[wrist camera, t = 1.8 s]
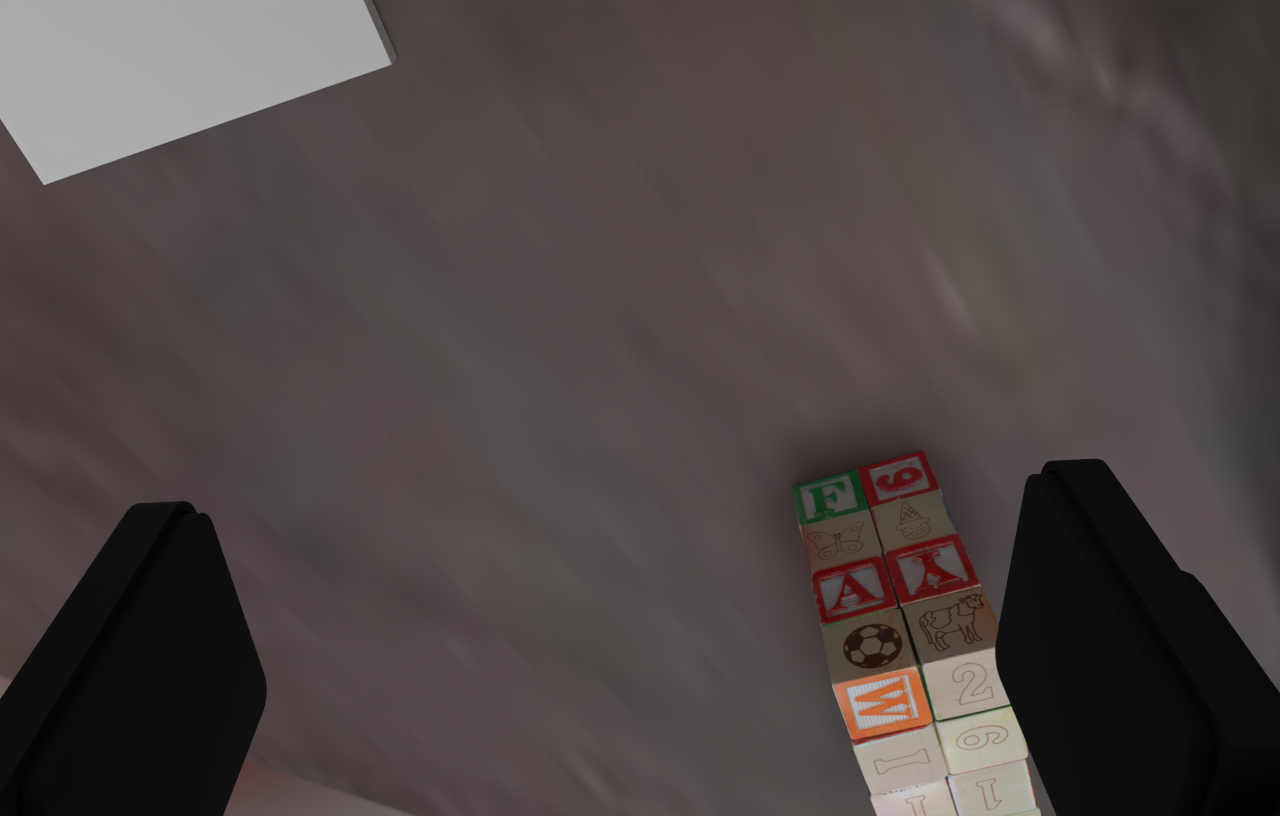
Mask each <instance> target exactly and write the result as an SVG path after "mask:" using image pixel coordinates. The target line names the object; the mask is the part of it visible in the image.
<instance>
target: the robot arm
mask: <svg viewBox="0 0 1280 816" xmlns="http://www.w3.org/2000/svg"><path fill="white" fill-rule="evenodd" d="M995 660H996V667H997V671H998V675H999V678H1000V680H1001V683H1002V685H1003V688H1004V690H1005V693H1006V695H1007V697H1008V700H1009V702H1010V705H1011V707H1012V709H1013V712H1014V714H1015V717H1016V719H1017V721H1018V724H1019V726H1020V729H1021V731H1022V733H1023V736H1024V738H1025V741H1026V743H1027V745H1028V748H1029V750H1030V753H1031V755H1032V758H1033V760H1034V762H1035V765H1036V767H1037V770H1038V772H1039V774H1040V777H1041V779H1042V782H1043V784H1044V786H1045V789H1046V791H1047V794H1048V796H1049V798H1050V801H1051V803H1052V806H1053V808H1054V810H1055V813H1056V815H1057V816H1280V693H1279V691H1278V690H1277V688H1276V687H1275V686H1274V684H1273V683H1272V681H1271V680H1270V679H1269V677H1268V676H1267V674H1266V673H1265V672H1264V670H1263V669H1262V667H1261V666H1260V665H1259V663H1258V662H1257V660H1256V659H1255V658H1254V656H1253V655H1252V653H1251V652H1250V651H1249V649H1248V648H1247V646H1246V645H1245V644H1244V642H1243V641H1242V639H1241V638H1240V637H1239V635H1238V634H1237V632H1236V631H1235V630H1234V628H1233V627H1232V625H1231V624H1230V623H1229V621H1228V620H1227V618H1226V617H1225V616H1224V614H1223V613H1222V611H1221V610H1220V609H1219V607H1218V606H1217V604H1216V603H1215V602H1214V600H1213V599H1212V597H1211V596H1210V595H1209V593H1208V592H1207V590H1206V589H1205V588H1204V586H1203V585H1202V584H1201V583H1200V582H1199V581H1198V580H1197V579H1196V578H1195V576H1194V575H1192V574H1190V573H1187V572H1185V571H1181V570H1180V568H1179V567H1178V565H1177V564H1176V562H1175V561H1174V560H1173V558H1172V557H1171V555H1170V554H1169V552H1168V551H1167V550H1166V548H1165V547H1164V545H1163V544H1162V542H1161V541H1160V540H1159V538H1158V537H1157V535H1156V534H1155V532H1154V531H1153V530H1152V528H1151V527H1150V525H1149V524H1148V522H1147V521H1146V520H1145V518H1144V517H1143V515H1142V514H1141V512H1140V511H1139V510H1138V508H1137V507H1136V505H1135V504H1134V502H1133V501H1132V500H1131V498H1130V497H1129V495H1128V494H1127V492H1126V491H1125V490H1124V488H1123V487H1122V485H1121V484H1120V482H1119V481H1118V480H1117V478H1116V477H1115V475H1114V474H1113V472H1112V471H1111V470H1110V468H1109V467H1108V465H1107V464H1106V463H1105V462H1104V461H1103V460H1100V459H1079V460H1057V461H1049V462H1047V463H1046V464H1045V465H1044V467H1043V468H1042V471H1041V474H1032V475H1030V476H1029V477H1028V479H1027V481H1026V485H1025V489H1024V495H1023V500H1022V505H1021V511H1020V516H1019V521H1018V527H1017V532H1016V537H1015V543H1014V548H1013V553H1012V559H1011V564H1010V569H1009V575H1008V580H1007V585H1006V591H1005V596H1004V601H1003V606H1002V612H1001V617H1000V622H999V628H998V633H997V638H996V644H995ZM266 693H267V687H266V679H265V675H264V672H263V669H262V666H261V663H260V660H259V657H258V655H257V652H256V649H255V646H254V643H253V640H252V637H251V634H250V631H249V628H248V625H247V622H246V619H245V616H244V613H243V611H242V608H241V605H240V602H239V599H238V596H237V593H236V590H235V587H234V584H233V581H232V578H231V575H230V572H229V569H228V567H227V564H226V561H225V558H224V555H223V552H222V549H221V546H220V543H219V540H218V537H217V534H216V531H215V528H214V526H213V523H212V521H211V519H210V517H209V516H208V515H207V514H205V513H197V512H196V510H195V508H194V507H193V506H192V505H191V504H190V503H189V502H186V501H177V502H155V503H138V504H135V505H132V506H131V508H130V509H129V510H128V511H127V512H126V514H125V515H124V516H123V518H122V519H121V521H120V522H119V524H118V525H117V527H116V528H115V530H114V531H113V533H112V534H111V536H110V537H109V539H108V540H107V542H106V543H105V545H104V546H103V548H102V549H101V551H100V552H99V554H98V555H97V557H96V558H95V559H94V561H93V562H92V564H91V565H90V567H89V568H88V570H87V571H86V573H85V574H84V576H83V577H82V579H81V580H80V582H79V583H78V585H77V586H76V588H75V589H74V591H73V592H72V594H71V595H70V597H69V598H68V599H67V601H66V602H65V604H64V605H63V607H62V608H61V610H60V611H59V613H58V614H57V616H56V617H55V619H54V620H53V622H52V623H51V625H50V626H49V628H48V629H47V631H46V632H45V634H44V635H43V637H42V638H41V639H40V641H39V642H38V644H37V645H36V647H35V648H34V650H33V651H32V653H31V654H30V656H29V657H28V659H27V660H26V662H25V663H24V665H23V666H22V668H21V669H20V671H19V672H18V674H17V675H16V677H15V678H14V680H13V681H12V682H11V684H10V685H9V687H8V689H7V690H6V691H5V693H4V694H3V696H2V697H1V699H0V816H223V814H224V812H225V809H226V806H227V804H228V801H229V798H230V796H231V794H232V791H233V788H234V786H235V783H236V781H237V778H238V775H239V773H240V770H241V768H242V765H243V762H244V760H245V757H246V755H247V752H248V749H249V747H250V744H251V742H252V739H253V736H254V734H255V731H256V729H257V726H258V723H259V721H260V718H261V716H262V713H263V710H264V707H265V702H266Z"/></svg>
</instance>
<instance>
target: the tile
mask: <svg viewBox="0 0 1280 816" xmlns="http://www.w3.org/2000/svg"><path fill="white" fill-rule="evenodd" d="M396 59H397V56H396V53H395V51H394V49H393V47H392V44H391V42H390V40H389V37H388V35H387V33H386V30H385V28H384V26H383V24H382V21H381V19H380V17H379V14H378V12H377V10H376V7H375V5H374V3H373V1H372V0H0V119H1V120H2V122H3V123H4V125H5V126H6V128H7V129H8V131H9V132H10V134H11V135H12V137H13V139H14V140H15V142H16V143H17V145H18V146H19V148H20V149H21V151H22V152H23V154H24V155H25V157H26V158H27V160H28V161H29V163H30V164H31V166H32V168H33V169H34V171H35V172H36V174H37V175H38V177H39V178H40V180H41V181H42V183H43V184H44V185H45V184H48V183H51V182H54V181H57V180H59V179H62V178H65V177H68V176H71V175H74V174H77V173H80V172H83V171H85V170H88V169H91V168H94V167H97V166H100V165H103V164H106V163H109V162H111V161H114V160H117V159H120V158H123V157H126V156H129V155H132V154H135V153H137V152H140V151H143V150H146V149H149V148H152V147H155V146H158V145H161V144H163V143H166V142H169V141H172V140H175V139H178V138H181V137H184V136H187V135H189V134H192V133H195V132H198V131H201V130H204V129H207V128H210V127H213V126H215V125H218V124H221V123H224V122H227V121H230V120H233V119H236V118H239V117H241V116H244V115H247V114H250V113H253V112H256V111H259V110H262V109H265V108H267V107H270V106H273V105H276V104H279V103H282V102H285V101H288V100H291V99H293V98H296V97H299V96H302V95H305V94H308V93H311V92H314V91H317V90H319V89H322V88H325V87H328V86H331V85H334V84H337V83H340V82H343V81H345V80H348V79H351V78H354V77H357V76H360V75H363V74H366V73H369V72H372V71H374V70H377V69H380V68H383V67H386V66H389V65H392V64H393V62H394V61H395V60H396Z"/></svg>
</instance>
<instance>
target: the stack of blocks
mask: <svg viewBox="0 0 1280 816" xmlns="http://www.w3.org/2000/svg"><path fill="white" fill-rule="evenodd" d="M792 491H793V497H794V503H795V509H796V514H797V520H798V526H799V530H800V533H801V536H802V539H803V542H804V545H805V549H806V554H807V559H808V562H809V567H810V571H811V576H810V582H811V587H812V592H813V596H814V601H815V606H816V611H817V615H818V619H819V623H820V628H821V631H822V636H823V641H824V647H825V652H826V658H827V663H828V669H829V674H830V679H831V684H832V687H833V690H834V693H835V696H836V699H837V702H838V704H839V707H840V710H841V712H842V715H843V718H844V721H845V724H846V726H847V729H848V732H849V735H850V739H851V743H852V747H853V750H854V752H855V755H856V758H857V760H858V763H859V765H860V768H861V770H862V773H863V775H864V778H865V781H866V783H867V787H868V791H869V796H870V800H871V802H872V805H873V808H874V810H875V812H876V815H877V816H1041V813H1040V809H1039V806H1038V803H1037V801H1036V798H1035V796H1034V792H1033V787H1032V783H1031V779H1030V774H1029V770H1028V766H1027V762H1026V757H1027V756H1028V750H1027V745H1026V741H1025V738H1024V736H1023V733H1022V731H1021V729H1020V726H1019V724H1018V721H1017V719H1016V717H1015V714H1014V712H1013V709H1012V707H1011V705H1010V702H1009V700H1008V697H1007V695H1006V693H1005V690H1004V688H1003V685H1002V683H1001V680H1000V678H999V675H998V671H997V667H996V660H995V644H996V638H997V633H998V628H999V626H998V623H997V621H996V619H995V616H994V614H993V611H992V609H991V607H990V605H989V602H988V600H987V598H986V596H985V594H984V592H983V590H982V587H981V584H980V580H979V578H978V576H977V573H976V571H975V568H974V566H973V563H972V561H971V559H970V557H969V555H968V552H967V550H966V548H965V546H964V543H963V541H962V539H961V537H960V536H959V534H958V532H957V530H956V527H955V525H954V523H953V521H952V519H951V517H950V515H949V512H948V510H947V507H946V505H945V502H944V499H943V496H942V491H941V489H940V486H939V484H938V482H937V479H936V477H935V475H934V473H933V471H932V469H931V466H930V464H929V461H928V459H927V456H926V454H925V452H924V451H921V452H917V453H913V454H909V455H905V456H902V457H898V458H894V459H891V460H887V461H883V462H880V463H876V464H872V465H869V466H865V467H861V468H859V469H857V470H854V471H850V472H846V473H842V474H839V475H835V476H831V477H827V478H823V479H820V480H816V481H812V482H808V483H805V484H801V485H797V486H793V487H792Z"/></svg>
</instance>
